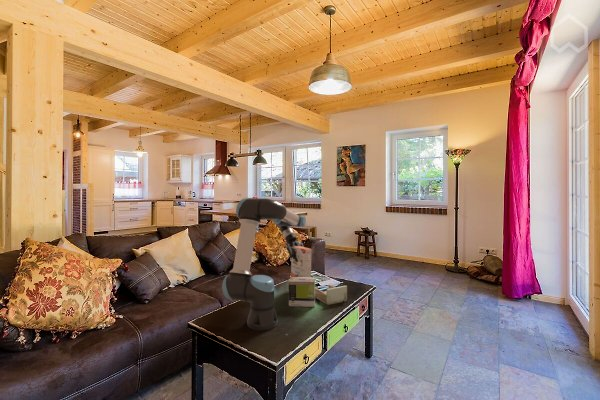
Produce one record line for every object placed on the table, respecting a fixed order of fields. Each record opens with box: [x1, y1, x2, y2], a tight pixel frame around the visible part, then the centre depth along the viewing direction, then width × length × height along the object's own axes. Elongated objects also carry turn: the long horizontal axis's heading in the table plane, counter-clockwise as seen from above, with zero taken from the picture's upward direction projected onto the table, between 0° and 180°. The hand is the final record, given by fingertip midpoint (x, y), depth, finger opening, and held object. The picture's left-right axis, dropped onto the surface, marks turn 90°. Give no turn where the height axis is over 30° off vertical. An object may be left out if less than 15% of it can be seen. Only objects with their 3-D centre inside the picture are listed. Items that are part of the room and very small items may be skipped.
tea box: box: [288, 276, 316, 308], centre depth 173 cm, size 15×10×15 cm, turn 84°
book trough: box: [315, 283, 348, 306], centre depth 182 cm, size 14×17×9 cm
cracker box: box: [290, 246, 313, 277], centre depth 193 cm, size 14×6×21 cm, turn 41°
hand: (304, 264), depth 191 cm, fingers closed on cracker box, 6 cm apart
